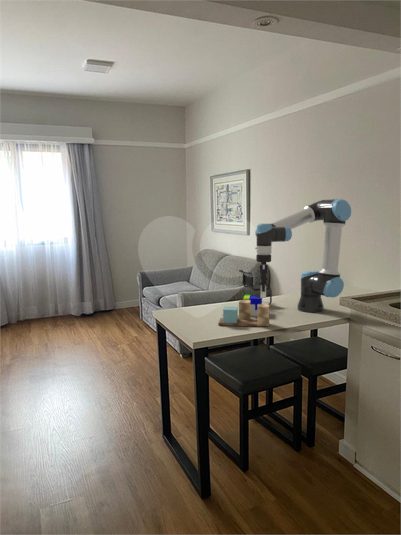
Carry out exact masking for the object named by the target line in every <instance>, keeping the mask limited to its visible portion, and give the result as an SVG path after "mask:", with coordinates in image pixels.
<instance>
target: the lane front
mask: <svg viewBox="0 0 401 535" xmlns="http://www.w3.org/2000/svg"><path fill="white" fill-rule="evenodd" d="M256 317H257V318H256V319H250V320H244V319H238V320H237V323H223V319H220V318H219V321H218V322H217V323H218V326H230V327H231V326H232V327H233V326H237V327H270V305H269V303H268V304H267V303H262V304H258V305H257V316H256Z"/></svg>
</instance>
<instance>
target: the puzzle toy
mask: <svg viewBox="0 0 401 535" xmlns="http://www.w3.org/2000/svg"><path fill="white" fill-rule="evenodd" d="M242 300H250V317H251V316H253V317H257V305H258V304H263V298H261V294H244V296H243V298H242Z"/></svg>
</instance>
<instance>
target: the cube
mask: <svg viewBox="0 0 401 535" xmlns="http://www.w3.org/2000/svg"><path fill="white" fill-rule="evenodd" d="M222 313H223V314H222V315H223V323H237V320H238V315H239V306H224V307H223V310H222Z"/></svg>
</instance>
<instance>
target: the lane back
mask: <svg viewBox="0 0 401 535" xmlns="http://www.w3.org/2000/svg"><path fill="white" fill-rule="evenodd" d="M220 319H223V314H221V315H220V317H219V320H220ZM238 319H244V320H251V316H250V300H243V299H239V300H238Z"/></svg>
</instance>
